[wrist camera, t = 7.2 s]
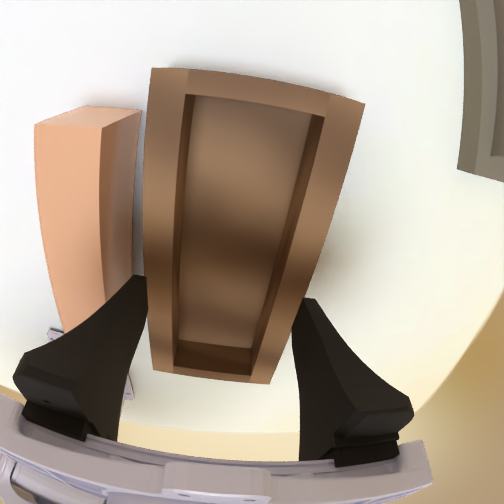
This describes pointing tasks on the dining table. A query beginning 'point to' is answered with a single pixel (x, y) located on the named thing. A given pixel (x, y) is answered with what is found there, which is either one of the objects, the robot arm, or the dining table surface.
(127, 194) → the clay block
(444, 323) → the dining table surface
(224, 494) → the robot arm
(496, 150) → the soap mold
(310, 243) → the tray
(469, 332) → the dining table surface
